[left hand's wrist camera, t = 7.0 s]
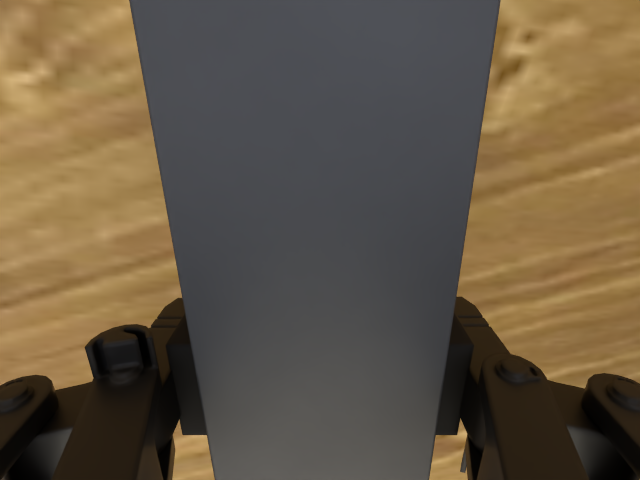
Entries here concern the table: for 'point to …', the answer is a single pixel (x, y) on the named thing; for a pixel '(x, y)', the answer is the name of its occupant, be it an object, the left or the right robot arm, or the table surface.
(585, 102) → the table surface
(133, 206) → the table surface
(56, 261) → the table surface
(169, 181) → the post
